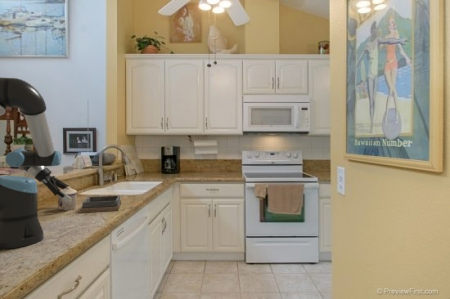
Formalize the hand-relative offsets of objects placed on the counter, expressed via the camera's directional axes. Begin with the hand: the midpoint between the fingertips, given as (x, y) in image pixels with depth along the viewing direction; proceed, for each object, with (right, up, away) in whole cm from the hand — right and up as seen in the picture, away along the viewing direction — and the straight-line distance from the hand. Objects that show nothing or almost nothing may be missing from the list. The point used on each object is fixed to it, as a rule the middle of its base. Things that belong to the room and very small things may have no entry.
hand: (72, 198), depth 153 cm
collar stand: (+15, -6, +3) cm, 16 cm away
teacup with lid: (-3, -5, -1) cm, 6 cm away
